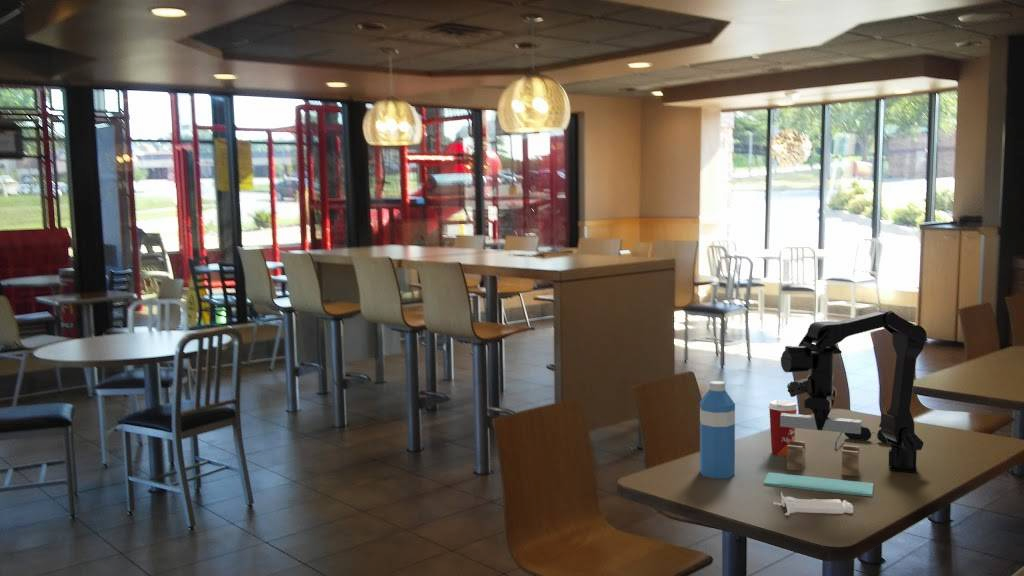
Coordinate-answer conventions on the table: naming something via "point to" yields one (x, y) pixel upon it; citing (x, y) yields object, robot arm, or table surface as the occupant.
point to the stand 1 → (796, 455)
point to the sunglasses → (863, 435)
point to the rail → (829, 425)
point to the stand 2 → (850, 460)
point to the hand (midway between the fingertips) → (820, 428)
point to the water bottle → (717, 433)
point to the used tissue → (815, 505)
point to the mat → (819, 484)
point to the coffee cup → (778, 433)
